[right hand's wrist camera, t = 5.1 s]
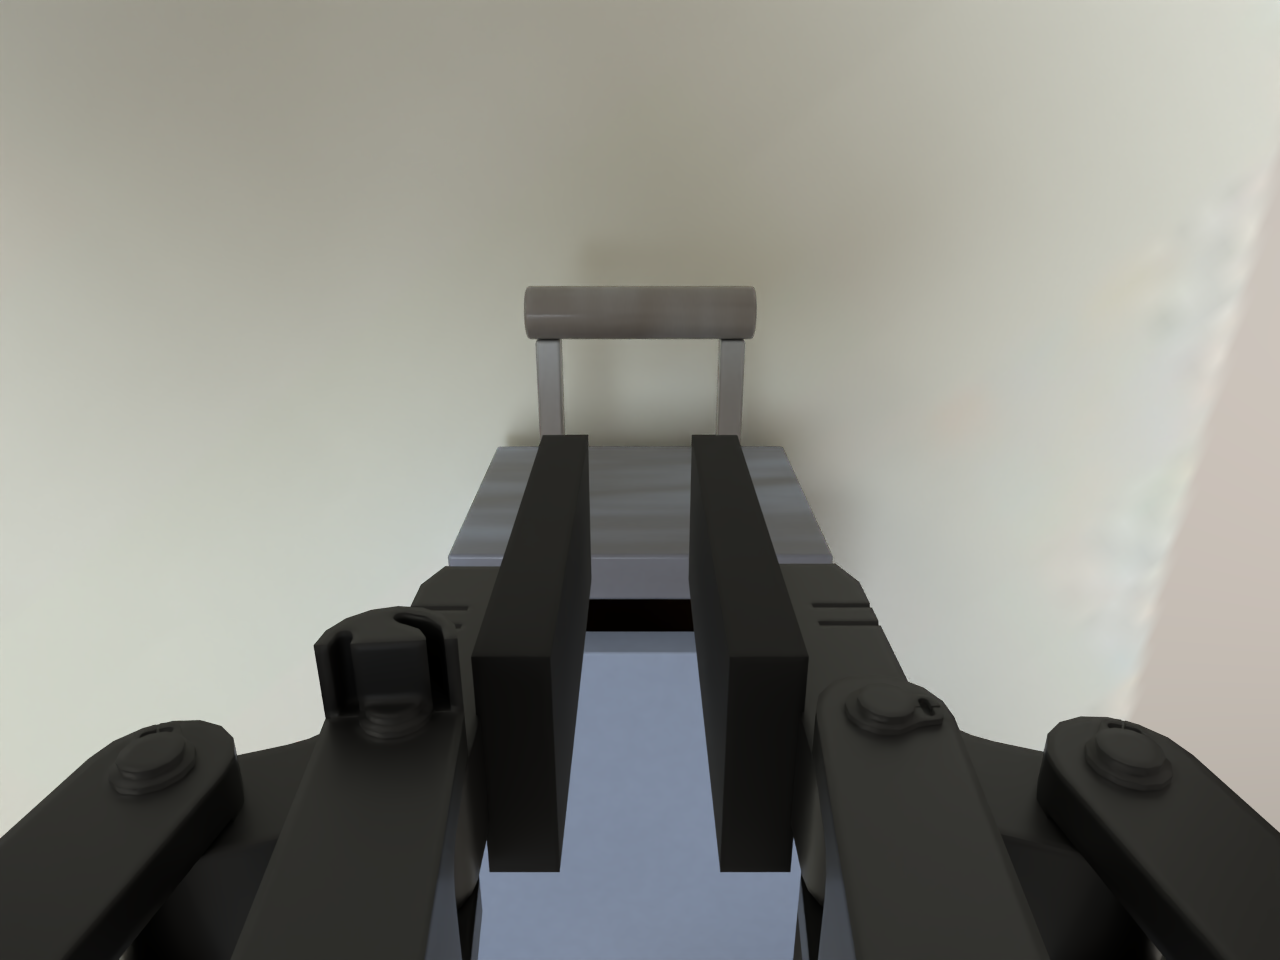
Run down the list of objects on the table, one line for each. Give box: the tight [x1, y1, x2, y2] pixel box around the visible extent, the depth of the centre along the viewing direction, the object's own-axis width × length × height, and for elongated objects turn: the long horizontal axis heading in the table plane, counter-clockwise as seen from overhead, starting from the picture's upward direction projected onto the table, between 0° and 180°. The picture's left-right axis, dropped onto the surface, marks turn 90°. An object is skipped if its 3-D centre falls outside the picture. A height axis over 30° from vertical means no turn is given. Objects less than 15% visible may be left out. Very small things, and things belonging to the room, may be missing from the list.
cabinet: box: [478, 632, 801, 960], centre depth 28 cm, size 20×10×10 cm, turn 0°
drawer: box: [448, 286, 833, 632], centre depth 26 cm, size 25×9×8 cm, turn 0°
